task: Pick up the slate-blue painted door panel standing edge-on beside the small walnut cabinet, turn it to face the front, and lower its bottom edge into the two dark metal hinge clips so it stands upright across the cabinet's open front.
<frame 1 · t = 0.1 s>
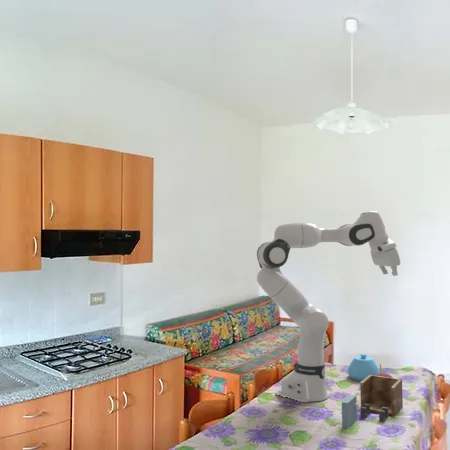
hand: (390, 274, 215), 52 cm above the table, tool tilted 20°, fingers open, 8 cm apart
door: (349, 423, 178), on the table
cabinet: (381, 408, 192), on the table
sugar bowl: (364, 378, 235), on the table
cupcake: (383, 389, 217), on the table
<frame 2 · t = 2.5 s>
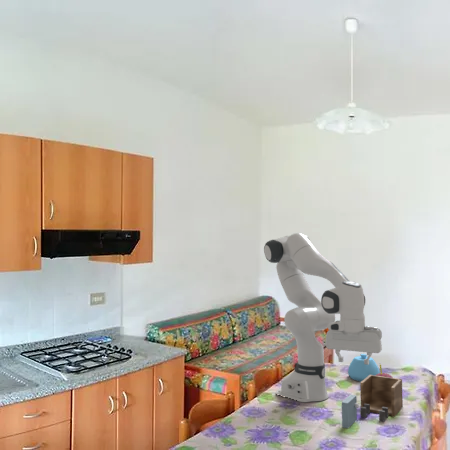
hand: (353, 362, 179), 22 cm above the table, tool pointing down, fingers open, 8 cm apart
nothing on the table moved.
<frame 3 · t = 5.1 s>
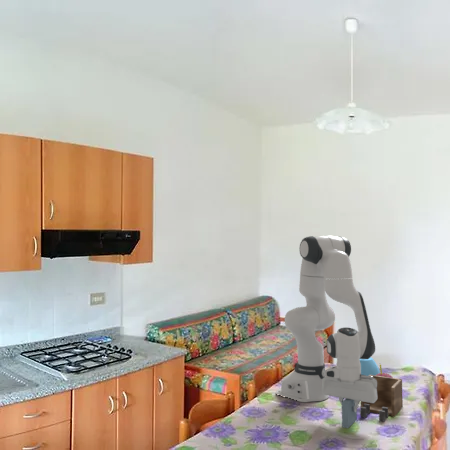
hand: (349, 410, 178), 5 cm above the table, tool pointing down, fingers closed on door, 2 cm apart
door: (349, 423, 178), on the table, touching gripper
everything else where it was.
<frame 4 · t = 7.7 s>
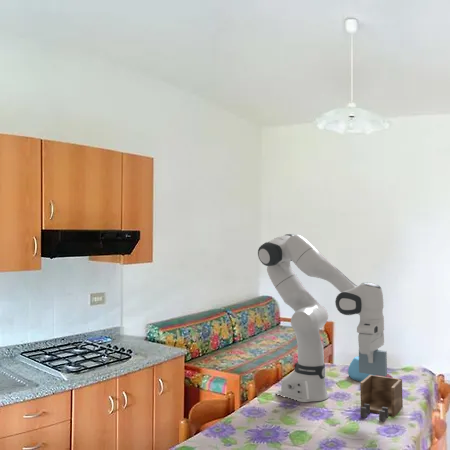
hand: (372, 361, 184), 21 cm above the table, tool pointing down, fingers closed on door, 2 cm apart
door: (372, 373, 184), point 16 cm above the table, touching gripper
everything else where it was.
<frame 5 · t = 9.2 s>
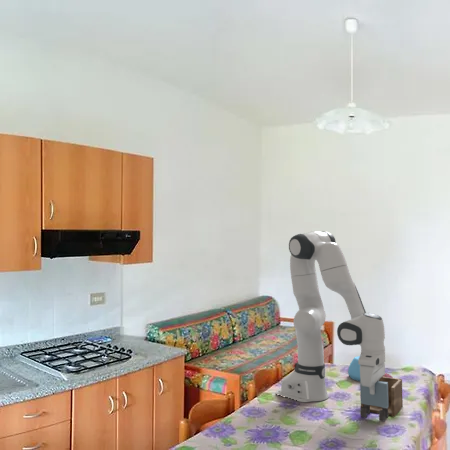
hand: (374, 392, 184), 9 cm above the table, tool pointing down, fingers closed on door, 2 cm apart
door: (374, 404, 184), point 5 cm above the table, touching gripper
everything else where it was.
when the fingers open (6 cm above the table, at t = 10.2 s): door drops 1 cm, on the table.
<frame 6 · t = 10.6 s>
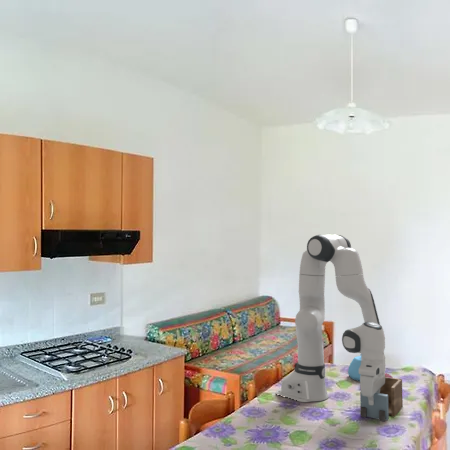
hand: (374, 402, 184), 6 cm above the table, tool pointing down, fingers open, 5 cm apart
door: (374, 417, 184), on the table
everything else where it was.
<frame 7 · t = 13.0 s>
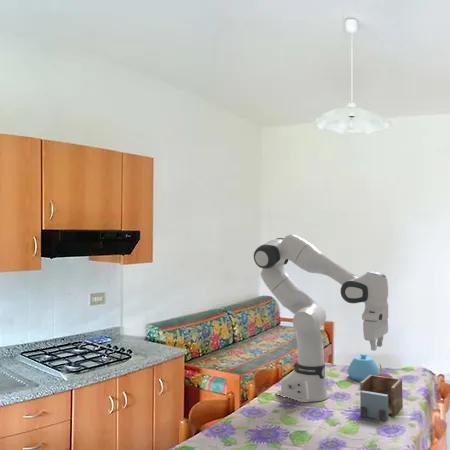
hand: (376, 348, 190), 25 cm above the table, tool pointing down, fingers open, 6 cm apart
nothing on the table moved.
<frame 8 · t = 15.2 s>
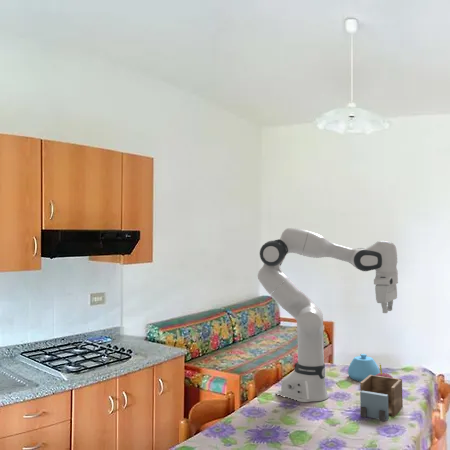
hand: (387, 311, 204), 37 cm above the table, tool pointing down, fingers open, 6 cm apart
nothing on the table moved.
at the end: door 0.0 cm from the target spot, on the table; door tilted 0°; the gripper is holding nothing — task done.
